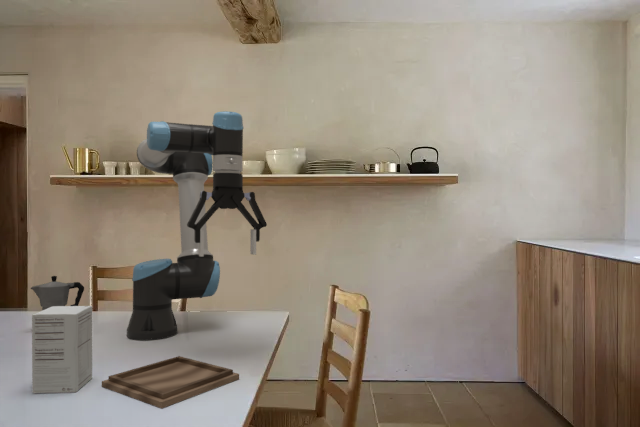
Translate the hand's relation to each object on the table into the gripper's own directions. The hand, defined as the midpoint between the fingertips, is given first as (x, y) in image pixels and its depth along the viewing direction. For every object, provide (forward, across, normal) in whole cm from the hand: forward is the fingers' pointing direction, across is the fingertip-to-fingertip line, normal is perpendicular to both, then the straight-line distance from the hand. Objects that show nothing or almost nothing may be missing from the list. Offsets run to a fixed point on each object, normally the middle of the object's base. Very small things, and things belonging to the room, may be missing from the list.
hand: (227, 255), depth 127 cm
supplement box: (+27, -37, -4) cm, 47 cm away
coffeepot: (+28, -43, +55) cm, 75 cm away
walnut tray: (+27, -15, -12) cm, 33 cm away
